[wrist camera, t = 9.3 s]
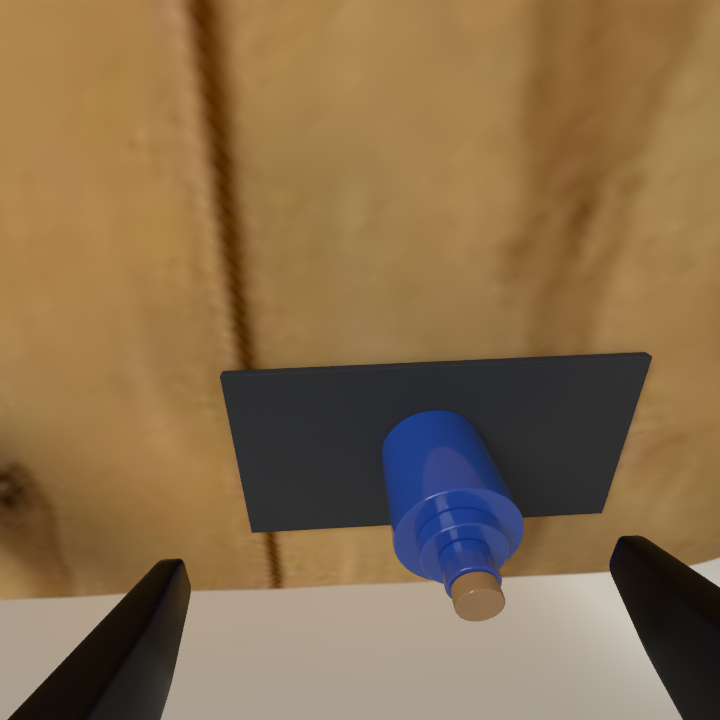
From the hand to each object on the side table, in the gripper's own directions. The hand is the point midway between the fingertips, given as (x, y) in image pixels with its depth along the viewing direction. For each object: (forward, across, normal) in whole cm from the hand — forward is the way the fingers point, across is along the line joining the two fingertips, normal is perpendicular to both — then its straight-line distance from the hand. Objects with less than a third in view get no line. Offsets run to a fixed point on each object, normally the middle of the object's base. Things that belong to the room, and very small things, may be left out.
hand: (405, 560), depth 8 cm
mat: (+11, -3, +6) cm, 13 cm away
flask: (+11, -3, +6) cm, 13 cm away
